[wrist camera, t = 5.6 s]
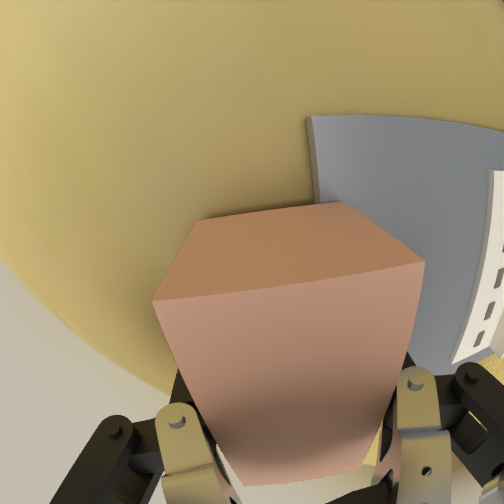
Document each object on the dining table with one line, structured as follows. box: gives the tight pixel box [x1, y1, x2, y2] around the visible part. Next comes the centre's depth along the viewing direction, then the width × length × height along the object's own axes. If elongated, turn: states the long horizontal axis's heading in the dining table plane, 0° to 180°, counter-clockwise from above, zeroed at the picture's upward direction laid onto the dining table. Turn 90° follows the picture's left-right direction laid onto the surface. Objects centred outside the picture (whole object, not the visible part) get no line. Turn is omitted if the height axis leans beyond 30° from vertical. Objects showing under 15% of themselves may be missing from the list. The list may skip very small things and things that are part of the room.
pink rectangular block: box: [151, 201, 425, 486], centre depth 9 cm, size 5×10×5 cm, turn 8°
